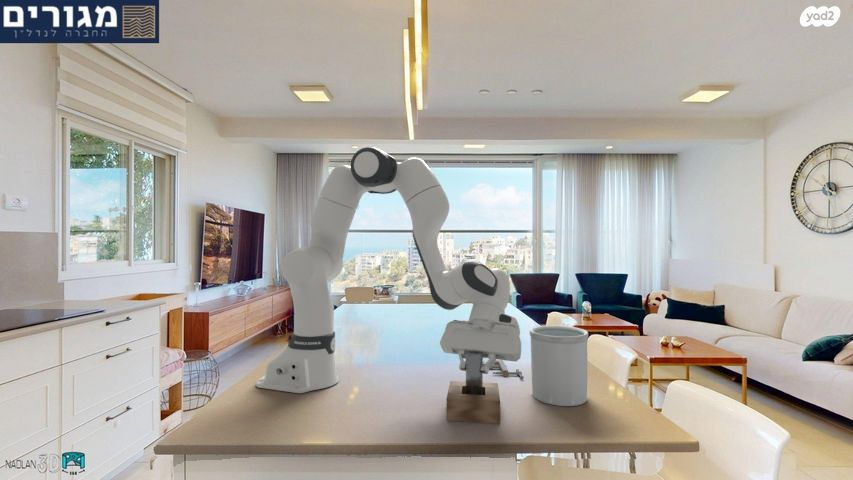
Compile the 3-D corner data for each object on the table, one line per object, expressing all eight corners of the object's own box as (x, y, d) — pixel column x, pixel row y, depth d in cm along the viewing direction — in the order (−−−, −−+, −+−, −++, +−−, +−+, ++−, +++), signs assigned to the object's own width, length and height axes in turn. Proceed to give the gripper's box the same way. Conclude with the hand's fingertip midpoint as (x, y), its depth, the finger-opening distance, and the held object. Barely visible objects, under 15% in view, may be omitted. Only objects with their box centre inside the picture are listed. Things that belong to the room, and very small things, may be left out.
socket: (446, 420, 93) (446, 398, 93) (450, 400, 104) (450, 380, 104) (500, 423, 91) (500, 401, 91) (497, 403, 103) (497, 383, 103)
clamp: (484, 359, 136) (514, 360, 136) (484, 366, 136) (514, 366, 136) (490, 373, 121) (524, 374, 121) (490, 381, 121) (524, 381, 121)
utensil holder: (526, 403, 103) (526, 333, 104) (532, 384, 117) (532, 323, 117) (589, 411, 98) (589, 338, 98) (587, 391, 112) (587, 327, 112)
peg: (465, 398, 96) (465, 355, 96) (465, 391, 100) (466, 351, 100) (482, 398, 96) (482, 355, 96) (482, 392, 99) (482, 351, 100)
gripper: (445, 312, 109) (429, 358, 100) (522, 318, 100) (512, 369, 91) (451, 326, 113) (437, 371, 104) (526, 333, 104) (517, 383, 95)
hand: (473, 371), depth 97 cm, fingers closed on peg, 4 cm apart
